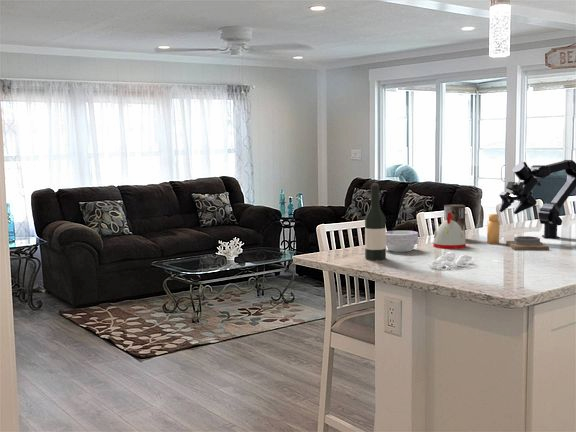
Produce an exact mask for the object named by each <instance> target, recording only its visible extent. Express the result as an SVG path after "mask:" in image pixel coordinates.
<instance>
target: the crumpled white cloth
mask: <svg viewBox="0 0 576 432" xmlns="http://www.w3.org/2000/svg"><path fill="white" fill-rule="evenodd" d="M470 261H471V262H470ZM474 262H475V260H474V259H473V258H472V256H471V255H468V254H461V255H459V257H458V258H457V259H456V253H455V252H453V251H448V252H443V254H442V255H440V256H439V257H438V258H436V259H434V260H432V261H430V262H428V264H427V265H428V266H429V267H430V268H433V269H436V270H437V271H441V270H442V271H450V270H451V269H452V268H456V267H464V268H465V267H467V266H469V265H471V264H474ZM449 269H450V270H449Z"/></svg>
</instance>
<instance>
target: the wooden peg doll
mask: <svg viewBox="0 0 576 432" xmlns="http://www.w3.org/2000/svg"><path fill="white" fill-rule="evenodd" d="M500 222H501V221H500V220H499V214H498V213H489V214H488V220H487V225H486V226H487V228H486V229H487V230H486V231H487V232H486V233H487V234H486V237H487V238H486V243H487V244H489V245H499V244H500Z"/></svg>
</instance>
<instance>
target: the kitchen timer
mask: <svg viewBox="0 0 576 432" xmlns="http://www.w3.org/2000/svg"><path fill="white" fill-rule="evenodd" d="M432 243H433V245H432V246H433V248H438V249H442V250H443V249H445V250H447V249H448V250H456V249H457V250H459V249H464V248H466V247H467V246H466V245H467V243H466V233H465V234H464V231H462V229H461V227H460V226H459V225H458V224H457V223H456V222H455V221H453V220H452V215H451V213H448V217H447V220H446V221H444V220H443V222H442V223H441V224H440V225H439V226H438V227H437V229H436V230H434V234H433V242H432Z"/></svg>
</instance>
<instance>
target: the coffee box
mask: <svg viewBox="0 0 576 432" xmlns="http://www.w3.org/2000/svg"><path fill="white" fill-rule="evenodd" d="M443 207H444V208H443V209H444V211H443V213H444V214H443V216H444V217H443V218H444V219H443V222H444V221H446V220H447V217H448V213H451V215H452V220H453V221H455V222H456V223H457V224H458V225H459V226H460V227H461V229H462V231H464V234H465V235H466V206H465V204H443Z"/></svg>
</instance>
